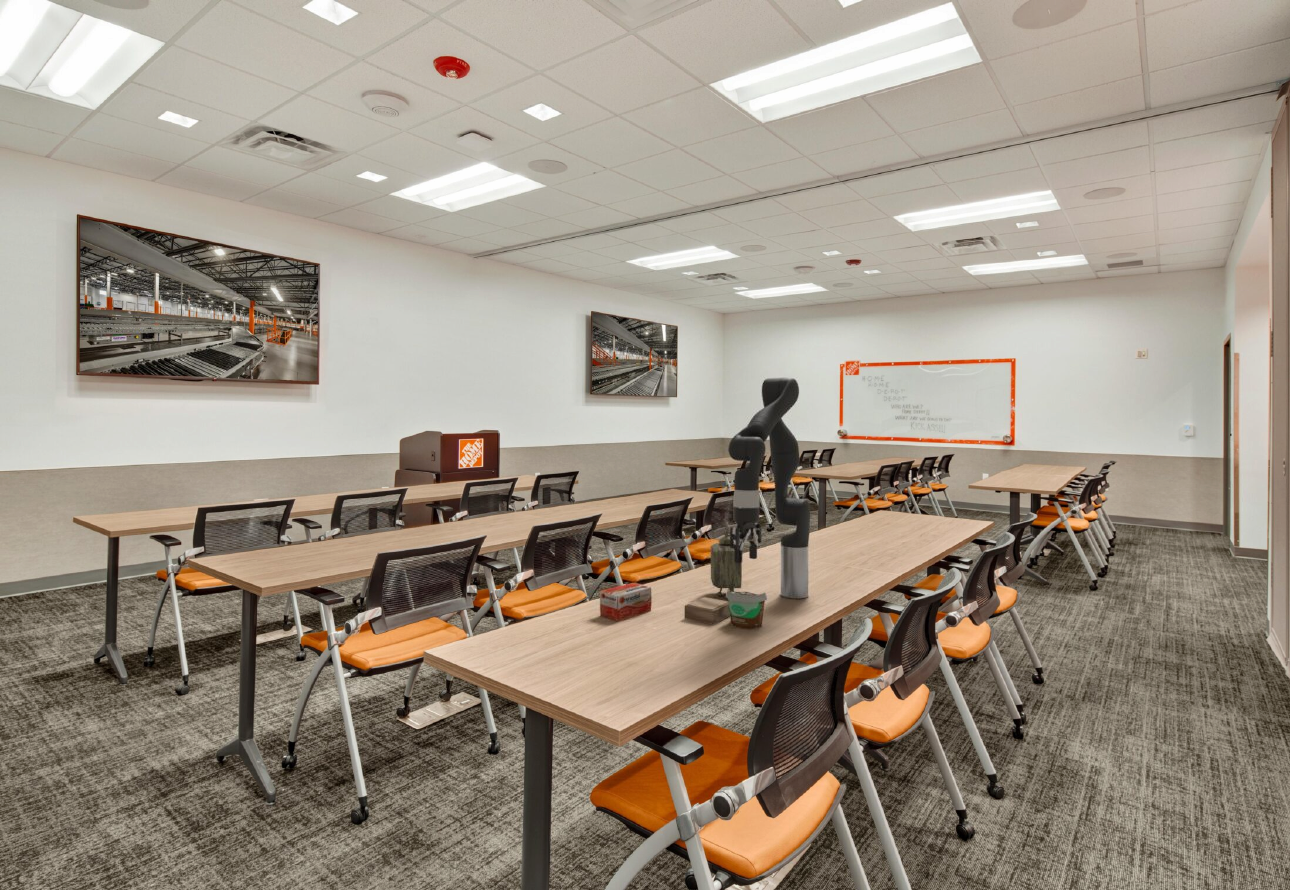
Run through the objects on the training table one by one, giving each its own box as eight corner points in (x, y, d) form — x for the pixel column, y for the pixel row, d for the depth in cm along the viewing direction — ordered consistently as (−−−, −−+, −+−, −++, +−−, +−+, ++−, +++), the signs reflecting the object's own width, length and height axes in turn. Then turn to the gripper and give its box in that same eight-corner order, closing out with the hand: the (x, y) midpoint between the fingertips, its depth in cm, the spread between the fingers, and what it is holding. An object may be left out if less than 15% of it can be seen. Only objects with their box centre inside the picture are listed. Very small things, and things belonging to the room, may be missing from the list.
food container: (719, 626, 190) (719, 592, 189) (727, 620, 195) (727, 587, 195) (760, 632, 184) (760, 597, 184) (767, 626, 189) (767, 592, 189)
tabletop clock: (741, 601, 215) (741, 526, 214) (714, 601, 215) (714, 526, 214) (736, 590, 230) (736, 520, 229) (710, 590, 230) (710, 520, 229)
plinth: (703, 609, 206) (703, 596, 206) (731, 615, 200) (731, 601, 200) (684, 618, 197) (684, 604, 197) (713, 624, 191) (713, 610, 191)
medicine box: (617, 622, 195) (617, 595, 195) (599, 616, 201) (599, 590, 200) (652, 611, 206) (652, 586, 205) (634, 606, 211) (634, 581, 211)
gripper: (747, 502, 197) (746, 555, 198) (722, 506, 186) (721, 562, 187) (769, 504, 193) (769, 558, 193) (745, 508, 182) (744, 566, 182)
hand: (745, 560), depth 190 cm, fingers open, 8 cm apart
